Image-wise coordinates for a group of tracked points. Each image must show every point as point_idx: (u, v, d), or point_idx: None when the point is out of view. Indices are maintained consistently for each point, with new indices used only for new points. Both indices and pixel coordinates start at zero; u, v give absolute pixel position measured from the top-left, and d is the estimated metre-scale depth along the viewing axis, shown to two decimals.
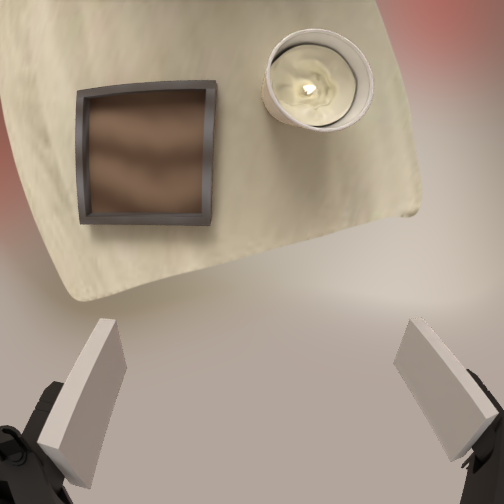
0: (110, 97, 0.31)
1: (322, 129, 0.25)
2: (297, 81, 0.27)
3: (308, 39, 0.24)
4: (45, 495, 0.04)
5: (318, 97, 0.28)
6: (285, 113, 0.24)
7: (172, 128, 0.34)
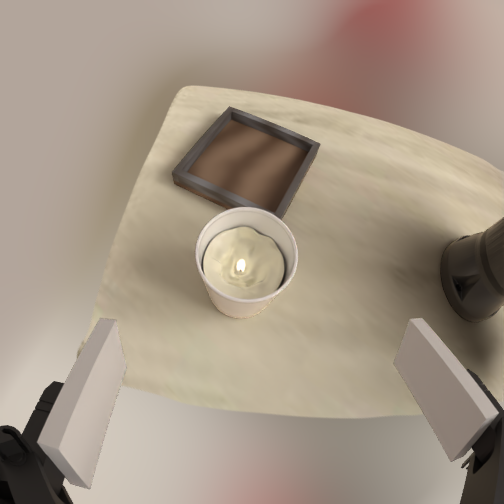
0: (302, 163, 0.48)
1: (203, 231, 0.30)
2: (251, 262, 0.34)
3: (288, 274, 0.32)
4: (45, 495, 0.04)
5: (229, 275, 0.34)
6: (229, 210, 0.31)
7: (256, 186, 0.45)
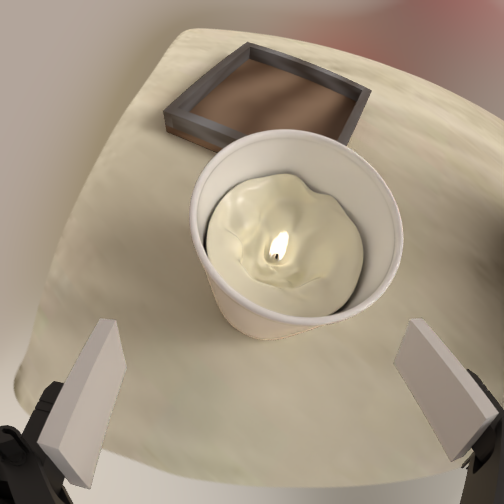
0: (350, 112, 0.32)
1: (208, 167, 0.14)
2: (297, 242, 0.18)
3: (373, 263, 0.15)
4: (45, 495, 0.04)
5: (257, 264, 0.18)
6: (262, 132, 0.15)
7: None
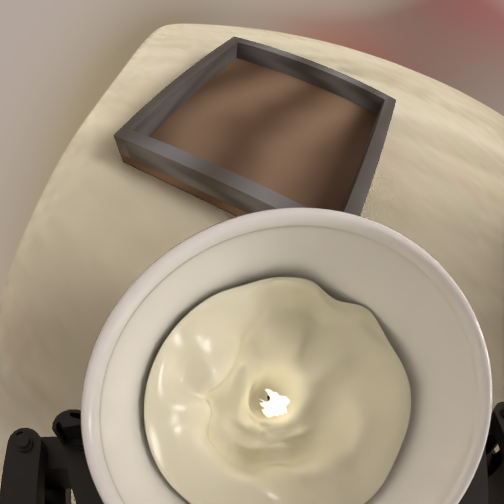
0: (369, 129, 0.24)
1: (111, 327, 0.06)
2: (303, 383, 0.10)
3: (425, 433, 0.07)
4: None
5: (237, 422, 0.10)
6: (236, 220, 0.07)
7: (288, 166, 0.21)
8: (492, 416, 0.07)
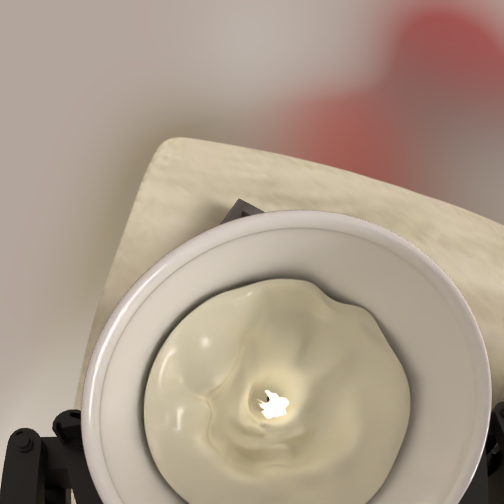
0: None
1: (110, 329, 0.06)
2: (302, 385, 0.10)
3: (424, 434, 0.07)
4: None
5: (237, 423, 0.10)
6: (235, 222, 0.07)
7: None
8: (492, 416, 0.07)
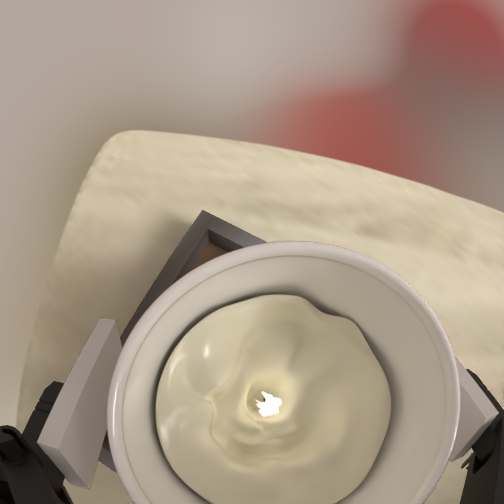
0: None
1: (131, 344, 0.07)
2: (294, 386, 0.12)
3: (403, 433, 0.09)
4: (45, 495, 0.04)
5: (236, 421, 0.11)
6: (234, 253, 0.08)
7: None
8: None
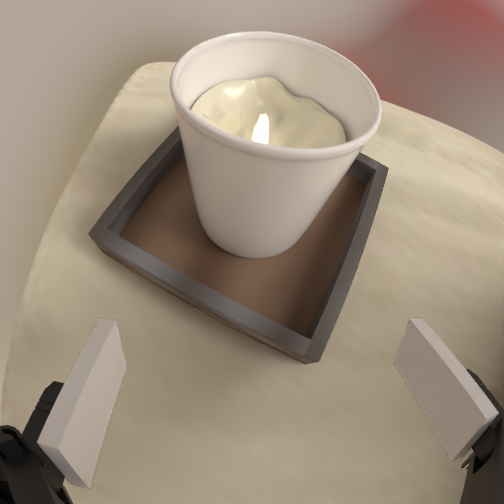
0: (357, 205, 0.24)
1: (191, 51, 0.13)
2: (279, 139, 0.17)
3: None
4: (45, 495, 0.04)
5: None
6: (241, 32, 0.14)
7: (266, 263, 0.22)
8: None
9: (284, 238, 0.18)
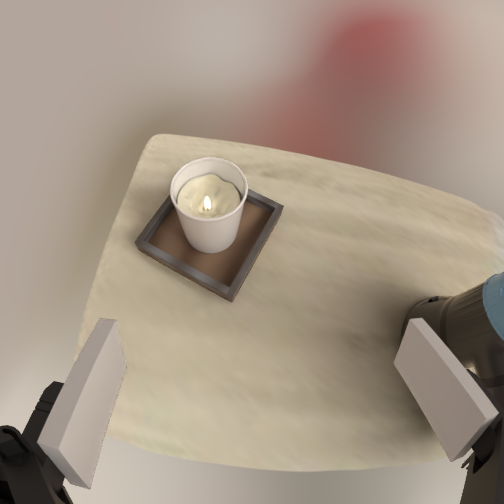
0: (264, 227, 0.50)
1: (177, 173, 0.38)
2: (216, 202, 0.43)
3: (242, 207, 0.40)
4: (45, 495, 0.04)
5: (198, 211, 0.42)
6: (197, 159, 0.39)
7: (215, 255, 0.47)
8: None
9: (219, 244, 0.44)
